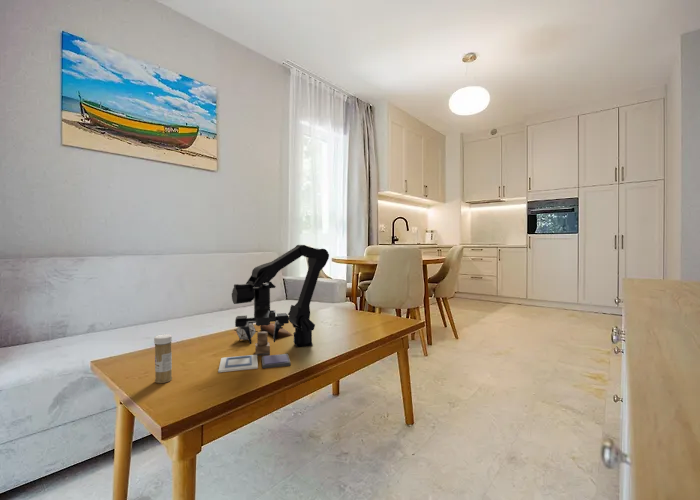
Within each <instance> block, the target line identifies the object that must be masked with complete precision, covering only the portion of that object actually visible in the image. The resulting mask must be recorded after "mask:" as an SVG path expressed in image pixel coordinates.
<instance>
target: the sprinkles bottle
mask: <svg viewBox="0 0 700 500" xmlns="http://www.w3.org/2000/svg"><path fill="white" fill-rule="evenodd" d="M172 337H173V336H172V334H167V333H165V334H159V335H156V336H154V337H153V340H154V341H153V343H154V370H155V378H154V381H155V383H156V384H164V383H168V382H170V381H172V379H173V376H172V375H173V374H172V370H173V369H172V366H173V363H172V361H173V359H172V356H173V355H172V354H173V353H172V352H173V351H172V341H173V339H172Z"/></svg>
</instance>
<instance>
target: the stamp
mask: <svg viewBox="0 0 700 500" xmlns="http://www.w3.org/2000/svg"><path fill="white" fill-rule="evenodd" d="M256 334H257V336H256V337H257V338H256V339H257V341H256V343H255V351H254V352H255V355H257V357H258V356H259V357H260V356H261V357H262V356H269V355H271V345H270V342H269V341H268V332H266V331H263V330H261V331H258V332H256Z"/></svg>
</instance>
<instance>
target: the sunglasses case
mask: <svg viewBox="0 0 700 500" xmlns="http://www.w3.org/2000/svg"><path fill="white" fill-rule="evenodd" d="M274 328H275V322H270V324H269V325H260V326H259V329H260V330H261V331H265V332H267V334H269V335H271V336H273V337H274ZM292 336H293V337H294V334H292V333H291V332H290V331H288V330H287V329H285V328H284V326H281V327H280V329H279V331H278V334H277V337H276V340H277V339H278V340H280V339H283V338H287V337H288V338H289V337H292Z"/></svg>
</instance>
